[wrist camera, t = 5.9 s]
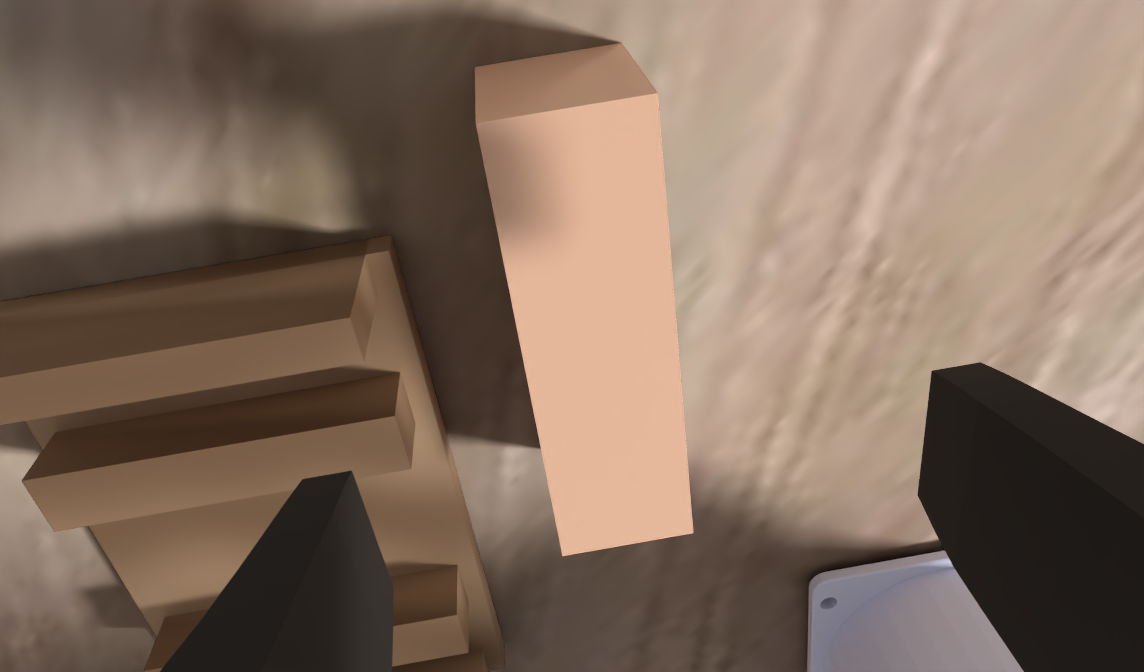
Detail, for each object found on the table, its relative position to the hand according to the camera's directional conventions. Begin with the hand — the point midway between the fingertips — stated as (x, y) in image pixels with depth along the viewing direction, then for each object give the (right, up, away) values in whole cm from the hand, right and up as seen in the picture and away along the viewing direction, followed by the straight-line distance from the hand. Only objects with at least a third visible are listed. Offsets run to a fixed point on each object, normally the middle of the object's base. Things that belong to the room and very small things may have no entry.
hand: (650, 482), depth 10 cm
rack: (-8, -3, +12) cm, 15 cm away
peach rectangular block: (-1, +3, +9) cm, 10 cm away
